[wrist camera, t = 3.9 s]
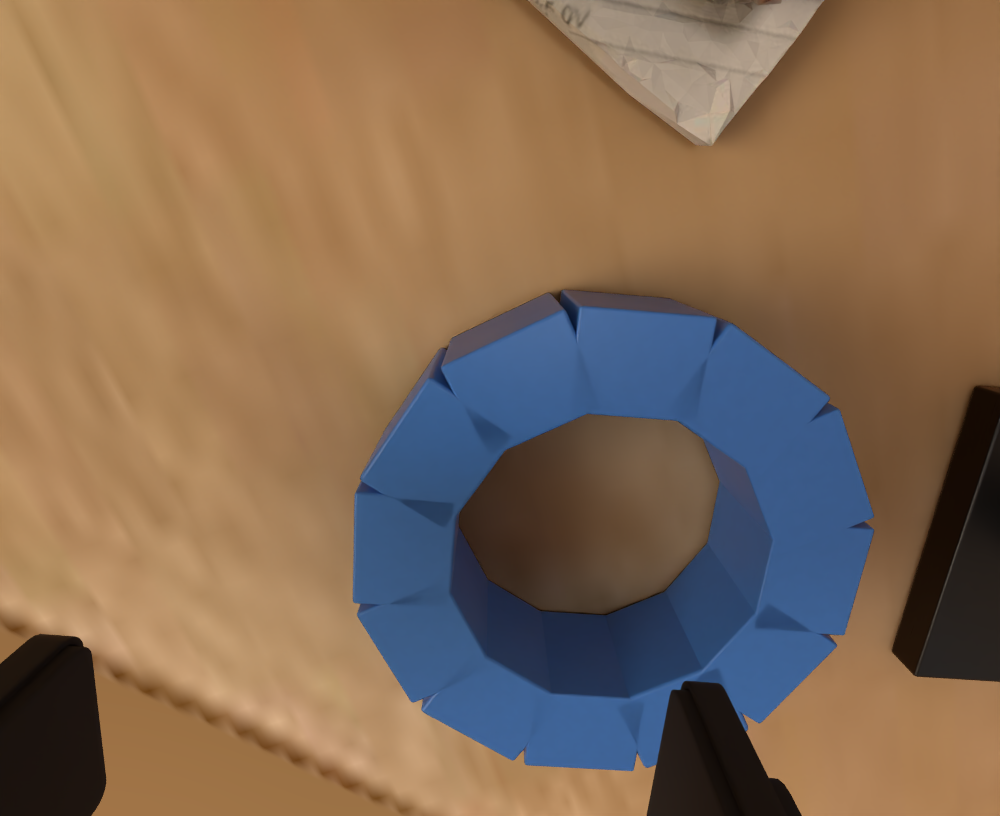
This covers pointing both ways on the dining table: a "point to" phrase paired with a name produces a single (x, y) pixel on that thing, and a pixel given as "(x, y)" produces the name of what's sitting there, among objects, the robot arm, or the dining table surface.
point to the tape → (644, 625)
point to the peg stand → (961, 561)
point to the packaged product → (684, 51)
